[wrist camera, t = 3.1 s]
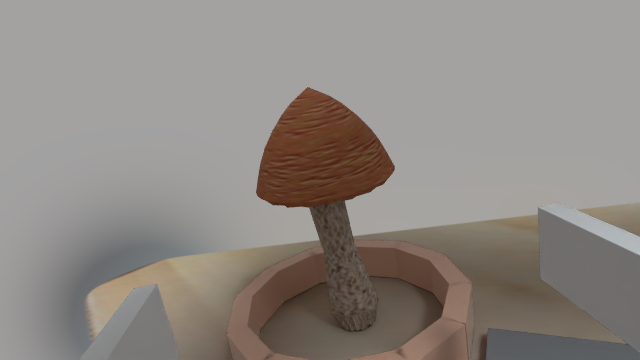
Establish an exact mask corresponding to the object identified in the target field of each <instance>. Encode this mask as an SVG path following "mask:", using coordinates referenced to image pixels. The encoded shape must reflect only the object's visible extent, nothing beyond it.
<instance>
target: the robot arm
mask: <svg viewBox="0 0 640 360" xmlns="http://www.w3.org/2000/svg"><path fill="white" fill-rule="evenodd" d="M538 223H539V250H540V277H541V279H542V280H543V281H545V282H546V283H547V284H549V285H550V286H551V287H553V288H554V289H555V290H557V291H558V292H559V293H561V294H562V295H563V296H565V297H566V298H567V299H569V300H570V301H571V302H573V303H574V304H575V305H577V306H578V307H579V308H581V309H582V310H583V311H585V312H586V313H587V314H589V315H590V316H591V317H593V318H594V319H595V320H597V321H598V322H599V323H601V324H602V325H603V326H605V327H606V328H607V329H609V330H610V331H611V332H613V333H614V334H615V335H617V336H618V337H619V338H621V339H622V340H623V341H625V342H626V343H627V344H629V345H630V346H631V347H633V348H634V349H635V350H637V351H638V352H639V353H640V237H639V236H637V235H635V234H632V233H630V232H627V231H625V230H623V229H620V228H618V227H615V226H613V225H611V224H608V223H606V222H604V221H601V220H599V219H596V218H594V217H592V216H589V215H587V214H585V213H582V212H580V211H577V210H575V209H572V208H570V207H568V206H565V205H563V204H561V203H556V204H551V205H546V206H541V207H538ZM178 356H179V352H178V349H177V346H176V343H175V340H174V336H173V333H172V330H171V327H170V324H169V320H168V317H167V314H166V311H165V308H164V305H163V301H162V298H161V295H160V292H159V289H158V286H157V284H154V285H149V286H144V287H139V288H134V289H133V290H132V291H131V293H130V294H129V295H128V297H127V298H126V299H125V301H124V302H123V303H122V305H121V306H120V307H119V309H118V310H117V311H116V312H115V314H114V315H113V316H112V318H111V319H110V320H109V322H108V323H107V324H106V326H105V327H104V328H103V330H102V331H101V332H100V333H99V335H98V336H97V337H96V339H95V340H94V341H93V343H92V344H91V345H90V347H89V348H88V349H87V351H86V352H85V353H84V354H83V356H82V357H81V358H80V360H177V358H178Z"/></svg>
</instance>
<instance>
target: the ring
mask: <svg viewBox="0 0 640 360" xmlns="http://www.w3.org/2000/svg"><path fill="white" fill-rule="evenodd" d="M354 243H355V246H356V248H357V250H358V253H359V255H360V257H361V260H362V262H363V264H364V266H365V269H366V271H367V273H368V276H376V277H390V278H400V279H402V280H404V281H407V282H409V283H411V284H414V285H416V286H418V287H421V288H423V289H425V290H427V291H430V292H432V293H434V295H435V296H436V297H437V299H438V300H439V302H440V303H441V304H442V306H443V307H444V309H443V313H442V317H441V318H440V319H438V320H437V321H436V322H434V323H433V324H431V325H430V326H429V327H427V328H426V329H425V330H423V331H422V332H421V333H419V334H418V335H416V336H415V337H414V338H412V339H411V340H410V341H408V342H407V343H405V344H404V345H403V346H401V347H400V348H399V349H396V350H392V351H387V352H382V353H377V354H373V355H368V356H363V357H359V358H354V359H349V360H470V359H471V350H472V341H473V332H474V323H475V317H474V306H473V294H472V283H471V281H470V280H469V279H468V278H467V277H466V276H465V275H464V274H463V273H462V272H461V271H460V270H459V269H458V268H457V267H456V266H455V265H454V264H453V262H452V261H451V260H450V259H449V258H448V257H447V256H446V255H444V254H442V253H439V252H436V251H432V250H429V249H426V248H423V247H420V246H417V245H414V244H411V243H408V242H404V241H403V242H402V241H384V240H356V241H355V240H354ZM324 282H327V277H326V268H325V260H324V252H323V248H322V247H317V248H312V249H310V250H306V251H304V252H301V253H299V254H297V255H295V256H293V257H290V258H288V259H286V260H284V261H282V262H279V263H277V264H275V265H273V266H271V267H268V268H267V269H265V270H264V271H263V272H262V273H261V274H260V275H259V276H258V277H256V278H255V279H254V280H253V281H252V282H251V283H250V284H249V285H248V286H247V287H246V288H244V289H243V290H242V291H241V292H240V293H239V294H238V295H237V296H236V298H235V299H234V303H233V307H232V311H231V315H230V319H229V323H228V327H227V331H226V335H227V339H228V343H229V346H230V350H231V354H232V357H233V360H309V359H304V358H299V357H293V356H288V355H283V354H277V353H273V352H272V351H271V350H270V349H269V348H268V347H267V346H266V345H265V344H264V343H263V342H262V341H261V340H260V339H259V337H260V329H261V328H262V327H263V325H264V324H265V323H266V322H267V321H268V320H269V319H270V317H271V316H272V315H273V314H274V313H275V312H276V311H277V309H278V308H279V307H280V306H281V305H282V304H283V302H285V301H286V300H288V299H290V298H292V297H294V296H296V295H298V294H300V293H302V292H304V291H306V290H308V289H309V288H311V287H313V286H315V285H317V284H319V283H324Z"/></svg>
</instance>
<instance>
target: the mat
mask: <svg viewBox="0 0 640 360" xmlns="http://www.w3.org/2000/svg"><path fill="white" fill-rule="evenodd" d="M486 360H640V353H639V352H638V351H637V350H635V349H634V348H633V347H631V346H630V345H629V344H620V343H611V342H603V341H594V340H586V339H577V338H569V337H560V336H551V335H543V334H534V333H526V332H517V331H509V330H500V329H492V328H488V334H487V350H486Z"/></svg>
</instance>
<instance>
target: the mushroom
mask: <svg viewBox="0 0 640 360" xmlns="http://www.w3.org/2000/svg"><path fill="white" fill-rule="evenodd" d="M394 167H395V166H394V165H393V163H392V161H391V159H390V157H389V156H388V154H387V152H386V150H385V149H384V147H383V145H382V144H381V142H380V140H379V139H378V138H377V136H376V135H375V134H374V133H373V131H372V130H371V129H370V128H369V127H368V126H367V125H366V124H365V123H364V122H363V121H362V120H361V119H360V118H359V117H358V116H357V115H356V114H355V113H354V112H352V111H351V110H350V109H348V108H347V107H346V106H345V105H343V104H342V103H340V102H339V101H337V100H335V99H334V98H332V97H330V96H328V95H326V94H323V93H321V92H319V91H316V90H314V89H311V88H308V87H307V88H306V89H305V90H304V91H303V92H302V93H301V94H300V95H299V96H298V97H297V98H296V99H295V100H294V101H293V102H292V103H291V104H290V105H289V106H288V108H287V109H286V110H285V111H284V113H283V114H282V115H281V117H280V119H279V121H278V123H277V124H276V126H275V128H274V129H273V131H272V133H271V135H270V138H269V140H268V142H267V145H266V147H265V149H264V153H263V156H262V160H261V164H260V170H259V176H258V183H257V191H256V193H257V196H258V197H260V198H261V199H263V200H265V201H268V202H269V203H270V204H272V205H285V206H286V207H288V208H289V207H301V206H302V207H309V208H310V211H311V215H312V217H313V221H314V224H315V227H316V230H317V232H318V236H319V239H320V242H321V245H322V248H323V252H324V260H325V268H326V277H327V285H328V293H329V302H330V310H331V312H332V313H333V315H334V316H335V318H336V319H337V320H338V322H339V323H340V325H341V326H342V327H343V328H346V330H351V331H354V330H356V331H359V330H360V329H361V330H364V328H367V327H369V325H371V324H373V321H374V320H375V317H376V311H377V303H378V297H377V294H376V292H375V290H374V287H373V285H372V283H371V280H370V278H369V276H368V273H367V271H366V269H365V266H364V264H363V262H362V260H361V257H360V255H359V253H358V250H357V248H356V246H355V243H354V240H353V235H352V231H351V227H350V222H349V218H348V215H347V209H346V205H345V200H350V199H353V198H355V197H356V196H359V195H362V194H365V193H369V192H371V191H372V190H373V189H375V188H376V187H378V186H380V185H383V184H384V183H385V182H386V180H387V179H388V178H389V177H390V176H391V174H392V173H393V171H394V170H395V169H394Z"/></svg>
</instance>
